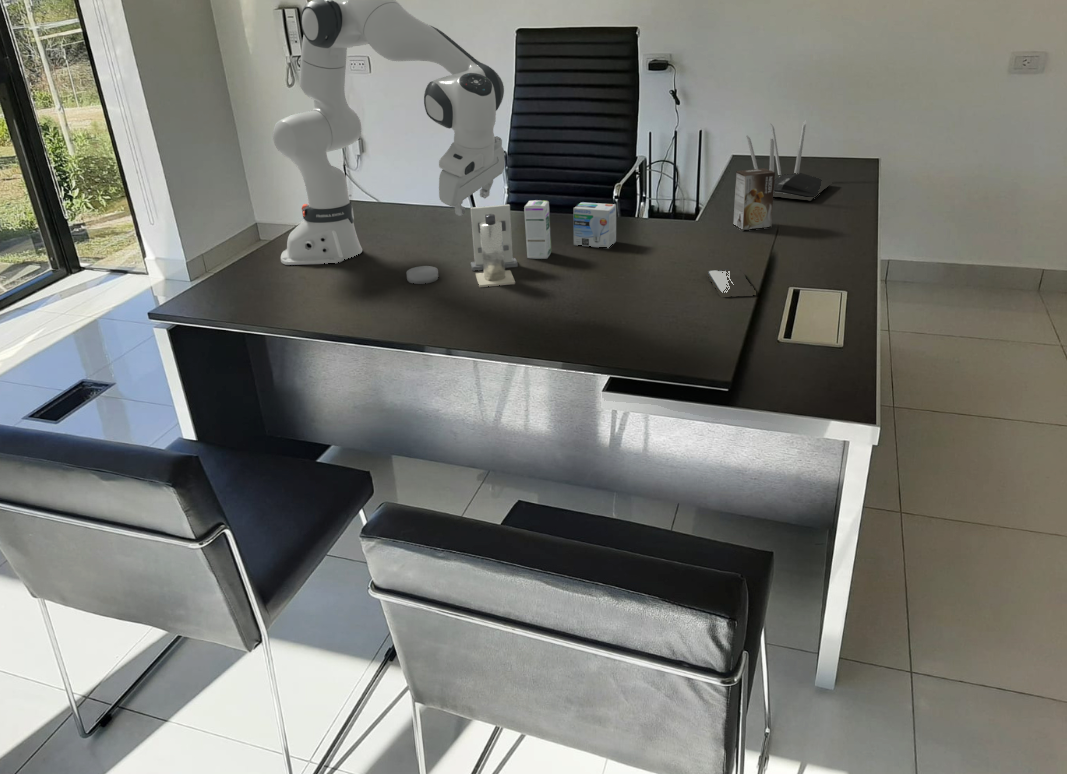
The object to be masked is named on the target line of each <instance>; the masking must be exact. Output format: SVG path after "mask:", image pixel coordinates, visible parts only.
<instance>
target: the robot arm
mask: <svg viewBox="0 0 1067 774" xmlns="http://www.w3.org/2000/svg"><path fill="white" fill-rule="evenodd" d="M300 25H301V30H302V33H303V37H302V43H301V51H300V52H301V53H300V63H299V64H300V66H299V86H300V89H301V91H302V92H303V93H304V95H306V96H307V97H308V98H310V99H311V100H313V108H312V110H308V111H303V112H299V113H293V114H291V115H288V116H286V117H283V118H282V119H279V120H277V122H276V123H275V124H274V126H273V130H272V140H273V143H274V146H275V147H276V149H277V151H278V152H279V153H280V154H281V155H282V156H284V157H285V158H286V159H288V160H290V161H291V162H292V163H293V164H294V165H295V166H296V167H297V169H298V170H299V172H300V174H301V177H302V179H303V183H304V187H305V193H306V196H307V197H306V198H307V201H308V203H304V204H302V206H301V211H302V219H303V220H302V221H301V222H300V223H299V224H298V225H297V226H296V227H295V228H294V229H293V230H292V231H291V232H290V233H289V235H288V237H287V240H286V241H287V242H286V248H285V250H283V251H282V252H281V255H280V262H281V264H283V265H285V266H290V265H291V266H293V265H294V266H295V265H297V266H298V265H324V263H325V265H329V264H328V263H335V264H339V263H342V262H343V261H345V260H348V258H349V259H352V258H355V257H357V256H358V254H359V255H360V254H361V253H362V252H363V248H362V246H361V244H360V240H359V237H358V235H357V232H356V228H355V224H354V221H355V217H354V216H355V215H354V209H353V205H352V204H353V203H352V201H350V196H349V187H348V181H347V176H346V174H345V172H343V171H342V170H341V169H340V168H338V167H337V166H334V165H332V164H331V162H330V161H329V158H328V155H327V153H329V152H333V151H338V150H341V149H345V148H347V147H350V146H351V145H353V144H354V143H356V142H357V141H358V140H359V139H360V137H361V134H362V124H361V120H360V117H359V116H358V114H357V113H356V111H354V110H353V109H352V108H351V107H350V106H349V104H348V102H347V99H346V95H345V92H346V91H345V87H346V85H345V83H346V66H347V52H348V48H353V47H360V46H366V45H369V46H370V47H371V48H372V49H373V50H374V51H375V52H376V53H377V54H378V55H380V56H381V57H383V58H384V59H387V60H388V61H390V62H391V61H392V62H417V61H419V62H430V63H435V64H436V65H440V66H441V67H443V68H444V69H445V70H446V71H447V72H449V73H450V74H449V75H446V76H444V77H443V76H442V77H440V78H436V79H434V80H433V81H429V83H427V86H426V88H425V91H424V94H423V104H424V110H425V113H426V115H427V116H428V118H430V119H431V120H432V121H433V122H435V123H436V124H438V125H440V126H441V127H444V128H446V129H452V130H453V133H454V135H453V142H452V143H451V144H450V146H449V148H448V149H447V151H446V152H445V153H444V154H443V155H442V157H441V158H439V159H438V160H439V161H438V167H439V168H440V169H441V170H440V173H439V178H438V197H439V200H440V201H441V203H443V204H444V205H446V206H448V207H452V208H454V214H455V215H456V216H459V217H461V216H463V215H464V214H465V213H466V211H465V210H466V207H465V206H463V205H462V204H463V202H464V201H465V200H466V199H467V198H469V197H470V196H472V195H473V194H474V193H476V192H477V191H479V196H480V198H483V199H484V200H485V199H486V198H488V197H489V196H490V194H491V193H490V192H491V191H490V190H491V188H492V187H493V183H494V180H495V179H496V178H498V177H499V176H501V175H502V174H503V173H504V169H505V166H506V165H505V151H504V148H503V139H502V138H501V137H500V136H495V134H494V127H495V125H496V118H497V117H496V115H497V111H498V109H499V108H500V105H502V102H503V100H504V96H505V95H504V94H505V86H504V82H503V80H502V78H501V77H500V75H499V74H498V72H497V71H495V70H494V69H493V68H492V67H490V66H489V65H487V64H485V63H483V62H480V61H479V60H478V59H476V58H475V57H474V56H472V55H471V54H470V53H469V52H467V51H466V50H465V49H464V48H463V47H462V46H461V45H459V44H458V43H456V42H455V41H454V39H452V38H451V37H450V36H449V35H447V34H445V33H444V32H443V31H442V30H440V29H438V28H437V27H434V26H432V25H430V24H428V23H425V22H423V21H421V20H420V19H419V18H416V17H415V16H414V15H412V14H411V13H409V12H408V11H407V10H406V9H405V8H404V7H403V6H402V5H401V4H400V3H399V2H398V1H397V0H311V1H308V2H307V3H306V4H305V5H304V6H303V9H302V11H301V15H300ZM356 255H357V256H356ZM354 256H355V257H354ZM351 257H352V258H351ZM344 259H345V260H344ZM338 262H339V263H338Z"/></svg>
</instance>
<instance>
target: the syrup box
mask: <svg viewBox="0 0 1067 774" xmlns="http://www.w3.org/2000/svg"><path fill="white" fill-rule="evenodd" d="M523 208H524V209H523V211H524V213H523V214H524V225H525V227H524V228H525V242H526V257H527V259H534V260H535V259H537V260H540V259H541V260H542V259H546V260H547V259H548V258H549V257H550V255H551V253H552V237H551V236H552V235H551V216H550V215H551V214H550V202H549V200H541V199H539V200H538V199H535V200H528V202H527V203H526V204H525V205H524V207H523Z"/></svg>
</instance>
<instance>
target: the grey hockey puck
mask: <svg viewBox="0 0 1067 774" xmlns="http://www.w3.org/2000/svg"><path fill="white" fill-rule="evenodd" d="M405 272H406V279H407V282H408V283H410V284H413V283H414V284H415V285H425V283H426V284H430V283H434V282H436V281H437V280H438V279H439V278H438V277H439V269H438V268H437V267H435V266H431V265H430V266H429V265H422V266H416V267H411V268H409V269H408V270H406V271H405Z"/></svg>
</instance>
